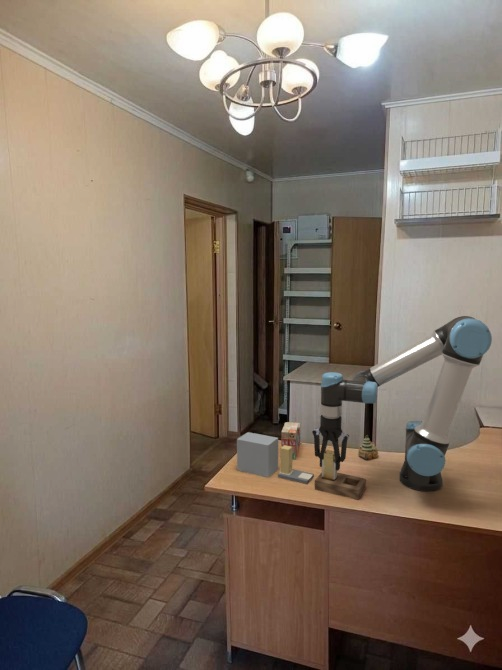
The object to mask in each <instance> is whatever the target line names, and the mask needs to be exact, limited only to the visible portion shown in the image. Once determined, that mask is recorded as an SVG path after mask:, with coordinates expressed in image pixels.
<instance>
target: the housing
mask: <svg viewBox="0 0 502 670" xmlns="http://www.w3.org/2000/svg"><path fill="white" fill-rule="evenodd" d="M236 464H237V465H236V470H237V471H238V470H240V472H243V471H244V473H247V472H248V474H251V473H252V474H251V475H255V474H256V475H255V476H259V475H260V477H263V478H268V477H269V478H270V477H271V476H272V475H274V474H275V472H276V471H277V470H279V437H275V436H270V435H266V434H265V435H264V434H259V433H255V432H254V433H253V432H250V431H248V432H246V433H244V434H242V435H241V436H239V437H238V438H237V439H236Z"/></svg>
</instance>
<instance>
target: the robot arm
mask: <svg viewBox="0 0 502 670" xmlns="http://www.w3.org/2000/svg"><path fill="white" fill-rule="evenodd" d="M492 339H493V338H492V334H491V331H490V329H489V327H488V326H487V324H486V323H484V322H483V321H481V320H479V319H476V318H475V317H473V316H468V315H462V316H458V317H455V318H454V319H452V320H450V321H449V322H447V323H445V324H444V325H442V326H441V327H438V328H437V329H435V330H433V332H432V335H430V336H428V337H425V338H424V339H422V340H420V341H419V342H417V343H414V344H413V345H411V346H409V347H407V348H405V349H403V350H402V351H400V352H398V353H396V354H394V355H392V356H390V357H388V358H387V359H384V360H382V361H380V362H379V363H377V364H375V365H373V366H371V367H369V368H368V369H366V370H364V371H363V370H362V371H359V372H357V373H356V374H355V375H354V376H353V378H352V380H351V379H344V375H343V374H341V373H340V372H336V371H335V372H334V371H333V372H330V371H329V372H325V373H323V374H322V376H321V385H320V395H321V396H320V421H319V422H320V423H319V424H320V426H319V428H314V429H313V430H312V435H313V441H314V442H313V443H314V444H313V445H314V447H313V448H314V456H315V457H317V458H319V467H320V468H321V473H322V477H323V472H324V453H325V452H326V450H327V446H328V442H329V441H330V442H331V443H332V448H333V451H334V455H335V461H334V462H333V479H334V480H335V479H336V478H337V473H338V471H340V469H341V463H343V462H344V461H345V460H346V458H347V456H346V455H347V446H348V440H349V438H350V435H349V433H348V434H346V433H344V432H343V429H342V414H343V411H342V410H343V402H351V403H352V402H353V403H363V404H376V403H377V400H378V387H381V386H382V385H385V384H387V383H389V382H390V381H392V380H394V379H396V378H398V377H400V376H402V375H404V374H406V373H408V372H410V371H412V370H414V369H416V368H418V367H420V366H422V365H424V364H426V363H428V362H430V361H432V360H433V359H436V358H438V357H439V356H443V359H444V360H443V363H442V365H441V368H440V371H439V374H438V377H437V380H436V382H435V385H434V388H433V391H432V393H431V396H430V399H429V402H428V404H427V408H426V410H425V413H424V415H423V418H422V420H410V421H408V422H407V423H406V426H405V444H404V445H405V447H404V448H405V449H404V450H405V452H404V461H403V464H402V466H401V468H400V470H399V473H398V475H399V481H400V483H401V484H402V485H404V486H405V487H407V488H410V489H412V490H414V491H415V490H416V491H419V492H420V491H421V492H435V491H439V490H441V488H442V487H443V481H444V480H443V476H442V473H441V472H442V471H443V469H444V468H445V465H446V453H447V451H448V449H449V446H450V442H451V440H450V438H449V436H448V435H449V431H450V428H451V425H452V423H453V421H454V418H455V416H456V413H457V410H458V407H459V404H460V402H461V399H462V397H463V394H464V392H465V389H466V387H467V383H468V381H469V378H470V375H471V373H472V370H473V369H474V368H476V367H479V366H480V364H481V362H482V359H483V356H484V355H485V354H486V353H487V352H488V351H489V350H490V348H491V346H492V342H493V341H492ZM320 435H321V436H322V441H320ZM340 437H341V441H342V442H341V447H340V445H339V438H340ZM320 442H321V443H320ZM340 448H341V450H340Z"/></svg>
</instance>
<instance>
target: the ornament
mask: <svg viewBox="0 0 502 670" xmlns="http://www.w3.org/2000/svg"><path fill="white" fill-rule="evenodd" d="M357 453H358V456H359V457H360V458H361V459H363V460H366V461H367V460H369V461H370V460H372V459H376V458H377V457H378V456H379V450H378V448H377V446H376V445H375V442H373V441H371V440H370V438H369V435H368V434H367V435H365V436H364V438H363V440H362V443H361V445H359V448H358V452H357Z"/></svg>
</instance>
